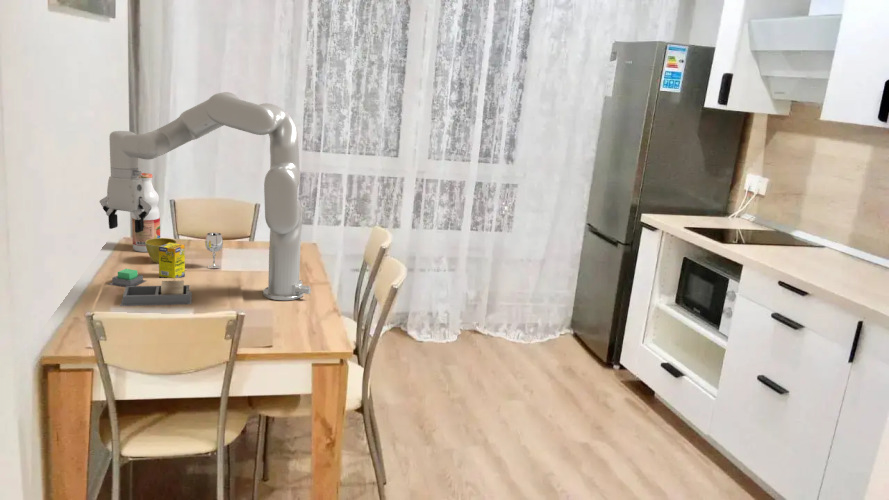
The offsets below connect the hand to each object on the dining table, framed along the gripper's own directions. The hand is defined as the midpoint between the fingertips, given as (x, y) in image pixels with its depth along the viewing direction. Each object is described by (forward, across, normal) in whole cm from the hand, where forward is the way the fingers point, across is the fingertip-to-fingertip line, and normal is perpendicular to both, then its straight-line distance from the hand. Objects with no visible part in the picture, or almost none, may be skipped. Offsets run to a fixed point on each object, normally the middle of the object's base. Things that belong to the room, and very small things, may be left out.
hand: (126, 229), depth 210 cm
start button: (+16, 0, 0) cm, 16 cm away
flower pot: (+18, +6, -27) cm, 33 cm away
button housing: (+18, 0, 0) cm, 18 cm away
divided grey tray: (+18, -16, +9) cm, 26 cm away
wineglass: (+18, -13, -29) cm, 37 cm away
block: (+17, -20, +7) cm, 27 cm away
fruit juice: (+18, +19, -38) cm, 46 cm away
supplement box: (+18, -7, -13) cm, 23 cm away
